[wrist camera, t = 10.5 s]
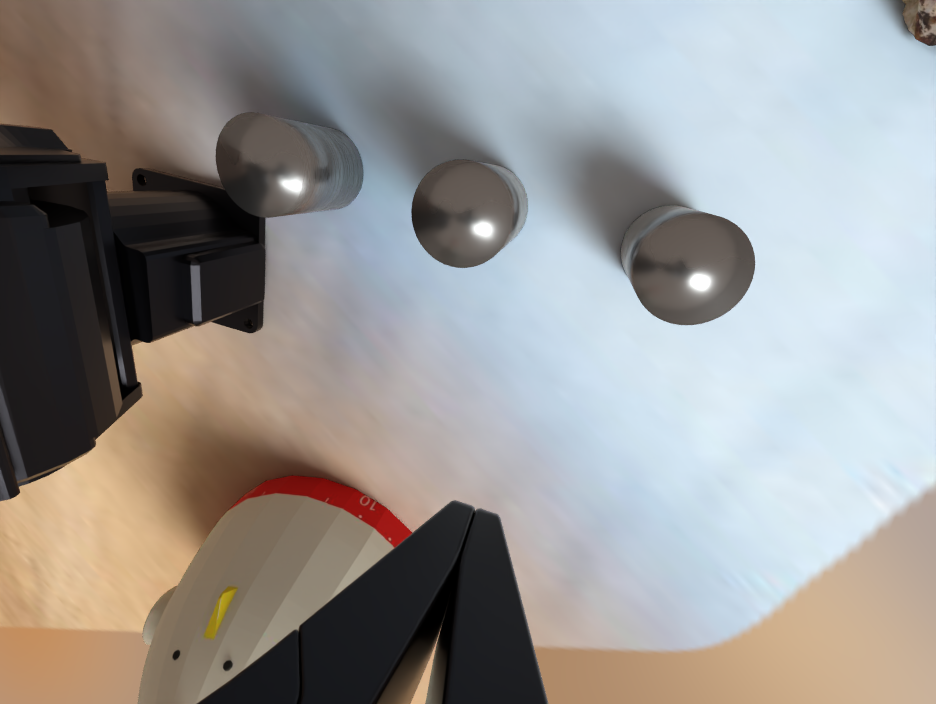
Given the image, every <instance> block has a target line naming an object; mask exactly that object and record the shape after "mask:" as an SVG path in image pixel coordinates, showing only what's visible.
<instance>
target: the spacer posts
mask: <svg viewBox="0 0 936 704" xmlns="http://www.w3.org/2000/svg"><path fill="white" fill-rule="evenodd" d="M216 165H217V170H218V174H219V177H220V180H221V182H222V185H223V186H224V188H225V190H226V192H227V193H228V195H229V196H230V197H231V199H232V200H233V201H234V202H235V203H236V204H237V205H238V206H239V207H240V208H242V209H243V210H245V211H246V212H248V213H250V214H252V215H255V216H258V217H267V218H269V217H277V216H285V215H293V214H302V213H310V212H318V211H326V210H334V209H340V208H343V207H345V206H347V205H349V204H350V203H351V202H352V201H353V200H354V199H355V198H356V197H357V195H358V193H359V191H360V189H361V186H362V182H363V164H362V160H361V157H360V154H359V152H358V150H357V148H356V146H355V145H354V143H353V142H352V141H351V140H350V139H349V138H348V137H347V136H346V135H345V134H343V133H342V132H340V131H338V130H336V129H333V128H328V127H324V126H319V125H314V124H309V123H304V122H299V121H294V120H290V119H285V118H280V117H275V116H270V115H265V114H261V113H254V112H249V113H243V114H240V115H237V116H235V117H234V118H232V119H231V120H230V121H229V122H228V123H227V124H226V125H225V126H224V128H223V129H222V131H221V133H220V135H219V138H218V142H217V147H216ZM527 213H528V200H527V195H526V192H525V189H524V187H523V185H522V183H521V182H520V180H519V179H518V178H517V177H516V175H514V174H513V173H512V172H511V171H509V170H508V169H506V168H504V167H501V166H498V165H493V164H487V163H482V162H476V161H470V160H452V161H448V162H445V163H442V164H440V165H438V166H436V167H435V168H433V169H432V170H431V171H430V172H429V173H427V174H426V176H425V177H424V178H423V179H422V181H421V182H420V184H419V185H418V187H417V189H416V192H415V195H414V198H413V202H412V223H413V227H414V231H415V233H416V236H417V238H418V240H419V242H420V244H421V245H422V246H423V248H424V249H425V250H426V251H427V252H428V253H429V254H430V255H431V256H432V257H433V258H435V259H436V260H438V261H439V262H441V263H443V264H446V265H449V266H452V267H457V268H468V267H474V266H477V265H480V264H483V263H485V262H486V261H488V260H490V259H491V258H492V257H494V256H495V255H496V254H497V253H498V252H499V251H500V250H501V249H503V248H504V247H505V246H506V245H507V244H508V243H509V242H510V241H512V240H513V239H514V238H515V237H516V236H517V235H518V233H519V232H520V231H521V229H522V228H523V226H524V223H525V221H526V218H527ZM621 261H622V265H623V268H624V270H625V272H626V274H627V276H628V278H629V280H630V282H631V284H632V286H633V288H634V290H635V292H636V294H637V296H638V298H639V300H640V301H641V303H642V305H643V306H644V307H645V308H646V309H647V310H648V311H649V312H650V313H651V314H653V315H654V316H656V317H657V318H659V319H661V320H663V321H666V322H669V323H673V324H678V325H695V324H701V323H705V322H709V321H711V320H714V319H716V318H718V317H720V316H722V315H724V314H725V313H727V312H728V311H730V310H731V309H732V308H733V307H734V306H735V305H736V304H737V303H738V302H739V301H740V300H741V299H742V298H743V296H744V295H745V293H746V292H747V290H748V288H749V286H750V284H751V281H752V279H753V275H754V270H755V256H754V251H753V247H752V245H751V242H750V241H749V239H748V237H747V236H746V234H745V233H744V232H743V231H742V230H741V229H740V228H739V227H738V226H737V225H736V224H734V223H732V222H731V221H729V220H727V219H725V218H722V217H719V216H716V215H712V214H708V213H704V212H701V211H697V210H693V209H689V208H686V207H682V206H676V205H668V206H661V207H657V208H654V209H651V210H649V211H647V212H646V213H644V214H642V215H641V216H640V217H639V218H637V219H636V220H635V221H634V222H633V223H632V224H631V226H630V227H629V228H628V230H627V232H626V234H625V236H624V238H623V241H622V245H621Z"/></svg>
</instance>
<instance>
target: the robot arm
mask: <svg viewBox="0 0 936 704" xmlns="http://www.w3.org/2000/svg"><path fill="white" fill-rule="evenodd" d="M145 178H146V181H147V182H145ZM105 180H109V179H108V173H107V167H106V163H105V162H100V161H95V160H89V159H83V158H81V156H80V154H77V153H73V152H72V150H70V149H68V148H67V147H66V146H65V145H64V143H63V142H62V141H61V140H60V139H59V137H58V136H57V135H56V134H55V133H54V132H53V130H51V129H45V128H39V127H30V126H20V125H10V124H0V501H3V500H8V499H11V498H14V497H16V496H17V495H18V494H19V493H20V490H19V486H22V485H25V484H29V483H31V482H34V481H36V480H38V479H41V478H43V477H46V476H48V475H50V474H52V473H54V472H55V471H57V470H59V469H61V468H63V467H64V466H66V465H67V464H69V463H71V462H73V461H74V460H76V459H78V458H80V457H82V456H84V455H85V454H87V453H88V452H89V451H90V450H92V449H93V448H94V447H95V445H96V441H95V440H96V439H97V438H98V437H99V436H100V435H101V434H102V433H103V432H104V431H105V430H106V429H108V428H109V427H110V426H111V425H112V424H113V423H114V422H115V421H116V420H117V419H118V418H120V417H121V416H122V415H123V414H124V413H125V412H126V411H127V410H128V409H129V408H130V407H132V406H133V405H134V404H135V403H136V402H137V401H138V400H139V399H140V398H141V397H142V396H143V394H142V387H141V383H140V382H138V381H137V375H136V369H135V363H134V357H133V350H132V345H134V344H137V343H140V342H146V343H151V342H153V341H156V340H159V339H161V338H164V337H166V336H169V335H172V334H174V333H177V332H180V331H182V330H185V329H188V328H190V327H193V326H201V325H204V324H206V323H209V322H213V323H216V324H220V325H223V326H226V327H230V328H233V329H237V330H240V331H243V332H247V333H254V332H256V331H258V330H260V329H261V328H262V326H263V300H264V294H265V217H258V216H255V215H252V214H250V213H248V212H246V211H245V210H243V209H242V208H240V207H239V206H238V205H237V204H236V203H235V202H234V201H233V200H232V199H231V197H230V196H229V195H228V193H227V192H226V190H225V188H223V187H219V186H215V185H211V184H208V183H204V182H200V181H196V180H192V179H188V178H184V177H180V176H176V175H172V174H168V173H164V172H160V171H156V170H152V169H143V168H137V169H135V170H134V172H133V174H132V181H133V191H122V192H107V190H106V183H105ZM249 319H250V320H251V321H252V322H253V325H251V323H250V321H249ZM442 622H443V623H442ZM441 626H442V627H441ZM440 629H441V630H440ZM439 632H440V634H439ZM438 635H439V638H438ZM437 638H438V642H437V646H436V650H435V655H434V660H433V665H432V671H431V676H430V682H429V687H428V693H427V698H426V703H425V704H548V701H547V697H546V693H545V689H544V685H543V681H542V677H541V673H540V670H539V666H538V662H537V658H536V654H535V650H534V646H533V643H532V639H531V635H530V631H529V627H528V623H527V619H526V616H525V612H524V608H523V604H522V600H521V596H520V592H519V588H518V585H517V581H516V577H515V573H514V569H513V565H512V561H511V558H510V554H509V550H508V546H507V542H506V538H505V534H504V531H503V527H502V523H501V519H500V517H499V515H497V514H495V513H492V512H489V511H486V510H483V509H477V510H476V511H475V508H474V507H473V506H471V505H468V504H465V503H462V502H459V501H456V500H454V501H451V502H450V503H449V504H447V505H446V506H445V507H444V508H442V509H441V510H440V511H439V512H438V513H436V514H435V515H434V516H433V517H431V518H430V519H429V520H428V521H427V522H425V523H424V524H423V525H422V526H420V527H419V528H418V529H417V530H416V531H414V532H413V533H412V534H411V535H409V536H408V537H407V538H406V539H405V540H403V541H402V542H401V543H400V544H398V545H397V546H396V547H395V548H394V549H392V550H391V551H390V552H389V553H387V554H386V555H385V556H384V557H383V558H381V559H380V560H379V561H378V562H376V563H375V564H374V565H373V566H371V567H370V568H369V569H368V570H367V571H365V572H364V573H363V574H362V575H360V576H359V577H358V578H357V579H356V580H354V581H353V582H352V583H351V584H349V585H348V586H347V587H346V588H345V589H343V590H342V591H341V592H340V593H338V594H337V595H336V596H335V597H334V598H332V599H331V600H330V601H329V602H327V603H326V604H325V605H324V606H323V607H321V608H320V609H319V610H318V611H316V612H315V613H314V614H313V615H312V616H310V617H309V618H308V619H307V620H305V621H304V622H303V623H302V624H301V625H300V626H299V629H298V630H296V629H295V630H293V631H292V632H290V633H289V634H288V635H287V636H285V637H284V638H283V639H282V640H281V641H279V642H278V643H277V644H276V645H275V646H273V647H272V648H271V649H270V650H268V651H267V652H266V653H264V654H263V655H262V656H261V657H259V658H258V659H257V660H255V661H254V662H253V663H252V664H250V665H249V666H248V667H246V668H245V669H244V670H242V671H241V672H240V673H239V674H237V675H236V676H235V677H233V678H232V679H231V680H229V681H228V682H227V683H225V684H224V685H222V686H221V687H219V688H218V689H217V690H215V691H214V692H212V693H211V694H209V695H208V696H207V697H205V698H204V699H202V700H201V701H199V702H198V703H197V704H410V703H411V701H412V698H413V696H414V694H415V691H416V689H417V687H418V684H419V682H420V680H421V677H422V675H423V673H424V670H425V668H426V666H427V663H428V661H429V659H430V656H431V654H432V651H433V649H434V646H435V644H436V641H437Z"/></svg>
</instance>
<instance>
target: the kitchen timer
mask: <svg viewBox="0 0 936 704" xmlns="http://www.w3.org/2000/svg"><path fill="white" fill-rule="evenodd" d="M411 534H412V532H411V531H410V530H409V529H408V528H407V527H406V526H405V525H404V524H403V523H402V522H401V521H400V520H398V519H397V518H396V517H395V516H394V515H393V514H392V513H391V512H390V511H389V510H388V509H387V508H386V507H384V506H382V505H381V504H379V503H377V502H376V501H374V500H373V499H371V498H369V497H368V496H366V495H364V494H363V493H361V492H360V491H358V490H356V489H353V488H350V487H348V486H345V485H342V484H339V483H336V482H333V481H330V480H327V479H324V478H315V477H304V476H293V475H292V476H288V477H283V478H278V479H273V480H268V481H265V482H263V483H262V484H260V485H259V486H257V487H256V488H254V489H252V490H251V491H249V492H248V493H246V494H245V495H244V496H243V497H242V498H241V499H240V500H239V501H238V502H236V503H235V504H234V505H233V506H232V507H231V508H230V509H229V510H228V511H227V512H226V513H225V514H224V515H223V517H222V518H221V519H220V520H219V521H218V523H217V524H216V525H215V527H214V528H213V529H212V531H211V532H210V534H209V535H208V537H207V538H206V540H205V541H204V543H203V544H202V546H201V547H200V549H199V550H198V552H197V554H196V555H195V557H194V558H193V560H192V562H191V563H190V565H189V567H188V569H187V570H186V572H185V574H184V575H183V577H182V579H181V581H180V583H179V584H178V586H175V587H173V588H172V589H170V590H169V591H167V592H166V593H165V594H164V595H163V596H161V597H160V599H159V600H158V601H157V602H156V603H155V605H154V606H153V608H152V609H151V611H150V613H149V615H148V617H147V619H146V622H145V625H144V628H143V640H144V642H145V643H146V644H148V645H150V648H149V651H148V654H147V658H146V662H145V666H144V670H143V675H142V679H141V684H140V690H139V697H138V704H197V703H198V702H199V701H201V700H202V699H204V698H205V697H207V696H208V695H209V694H211V693H212V692H214V691H215V690H217V689H218V688H219V687H221V686H222V685H224V684H225V683H227V682H228V681H229V680H231V679H232V678H233V677H235V676H236V675H237V674H239V673H240V672H241V671H242V670H244V669H245V668H246V667H248V666H249V665H250V664H252V663H253V662H254V661H255V660H257V659H258V658H259V657H261V656H262V655H263V654H264V653H266V652H267V651H268V650H270V649H271V648H272V647H273V646H275V645H276V644H277V643H278V642H279V641H281V640H282V639H283V638H284V637H285V636H287V635H288V634H289V633H290V632H292V631H293V630H295V629H296V630H298V629H299V626H300V625H301V624H302V623H303V622H304V621H305V620H307V619H308V618H309V617H310V616H312V615H313V614H314V613H315V612H316V611H318V610H319V609H320V608H321V607H323V606H324V605H325V604H326V603H327V602H329V601H330V600H331V599H332V598H334V597H335V596H336V595H337V594H338V593H340V592H341V591H342V590H343V589H345V588H346V587H347V586H348V585H349V584H351V583H352V582H353V581H354V580H356V579H357V578H358V577H359V576H360V575H362V574H363V573H364V572H365V571H367V570H368V569H369V568H370V567H371V566H373V565H374V564H375V563H376V562H378V561H379V560H380V559H381V558H383V557H384V556H385V555H386V554H387V553H389V552H390V551H391V550H392V549H394V548H395V547H396V546H397V545H398V544H400V543H401V542H402V541H403V540H405V539H406V538H407V537H408V536H409V535H411Z"/></svg>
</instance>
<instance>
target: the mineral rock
mask: <svg viewBox="0 0 936 704" xmlns="http://www.w3.org/2000/svg"><path fill="white" fill-rule="evenodd" d="M902 1H903V2H904V3H905V5H906V6H905V8H904V11H903V13H902V14H903V16H904V20H905V24H906V25H907V26H908V30H909V31H910V32H911V33H912V34H913V35H914V37H915V39H916V40H918V41H920V42H922V43H925V44H927V45H929V46H934V45H936V0H902Z"/></svg>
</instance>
